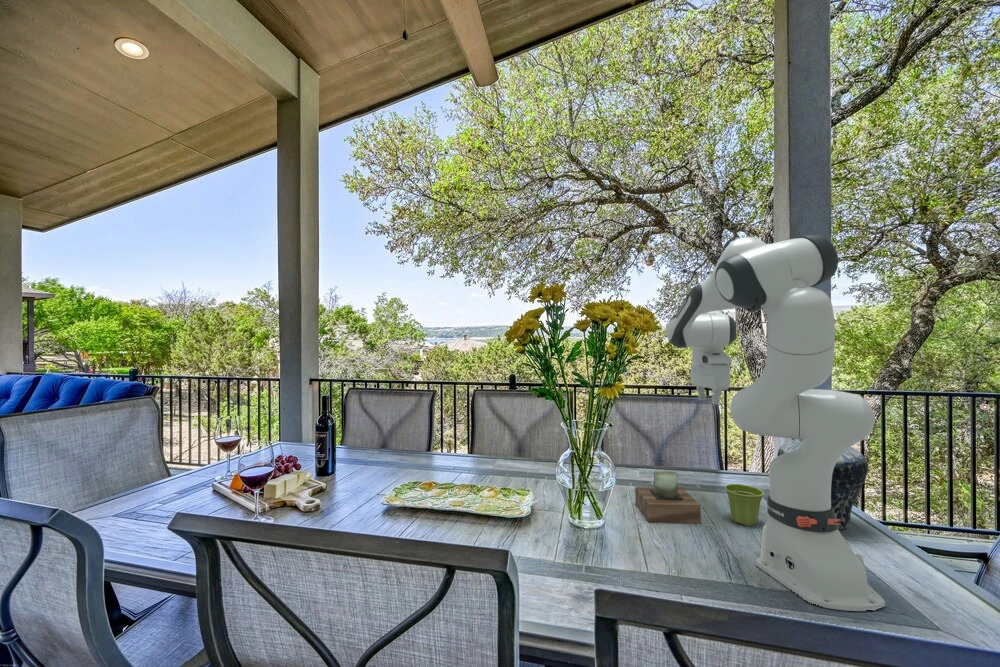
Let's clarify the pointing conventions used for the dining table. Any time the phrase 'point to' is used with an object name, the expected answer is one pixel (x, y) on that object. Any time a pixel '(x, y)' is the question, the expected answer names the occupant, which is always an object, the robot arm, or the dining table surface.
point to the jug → (841, 479)
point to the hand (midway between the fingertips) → (708, 401)
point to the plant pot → (744, 503)
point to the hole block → (667, 506)
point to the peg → (665, 483)
